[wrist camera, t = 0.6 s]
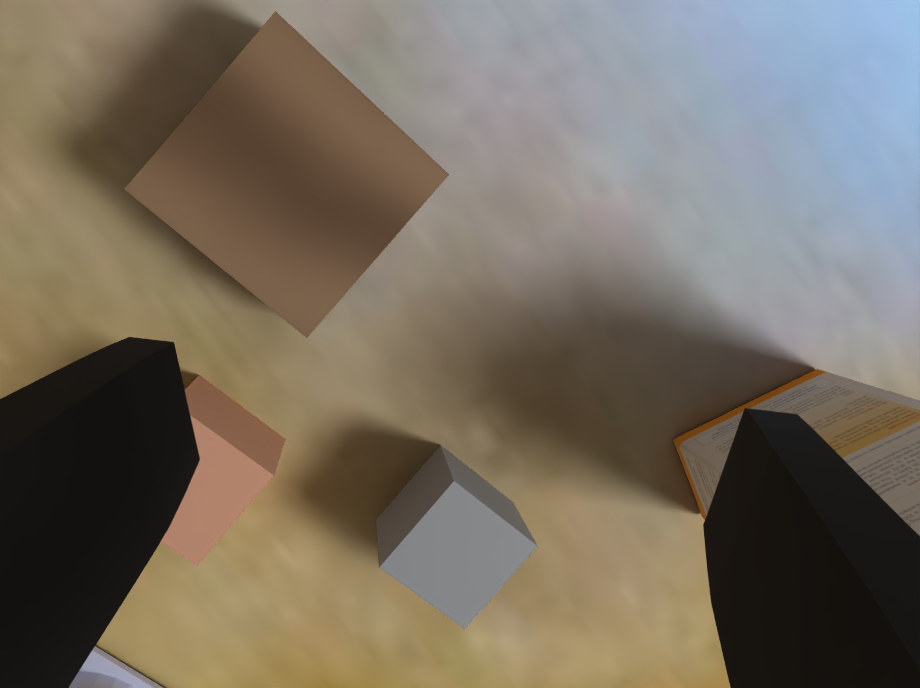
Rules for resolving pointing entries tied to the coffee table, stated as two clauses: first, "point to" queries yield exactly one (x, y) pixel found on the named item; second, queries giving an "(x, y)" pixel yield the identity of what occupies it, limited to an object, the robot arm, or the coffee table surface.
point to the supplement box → (826, 437)
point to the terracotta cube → (221, 470)
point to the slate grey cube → (452, 537)
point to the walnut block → (287, 177)
